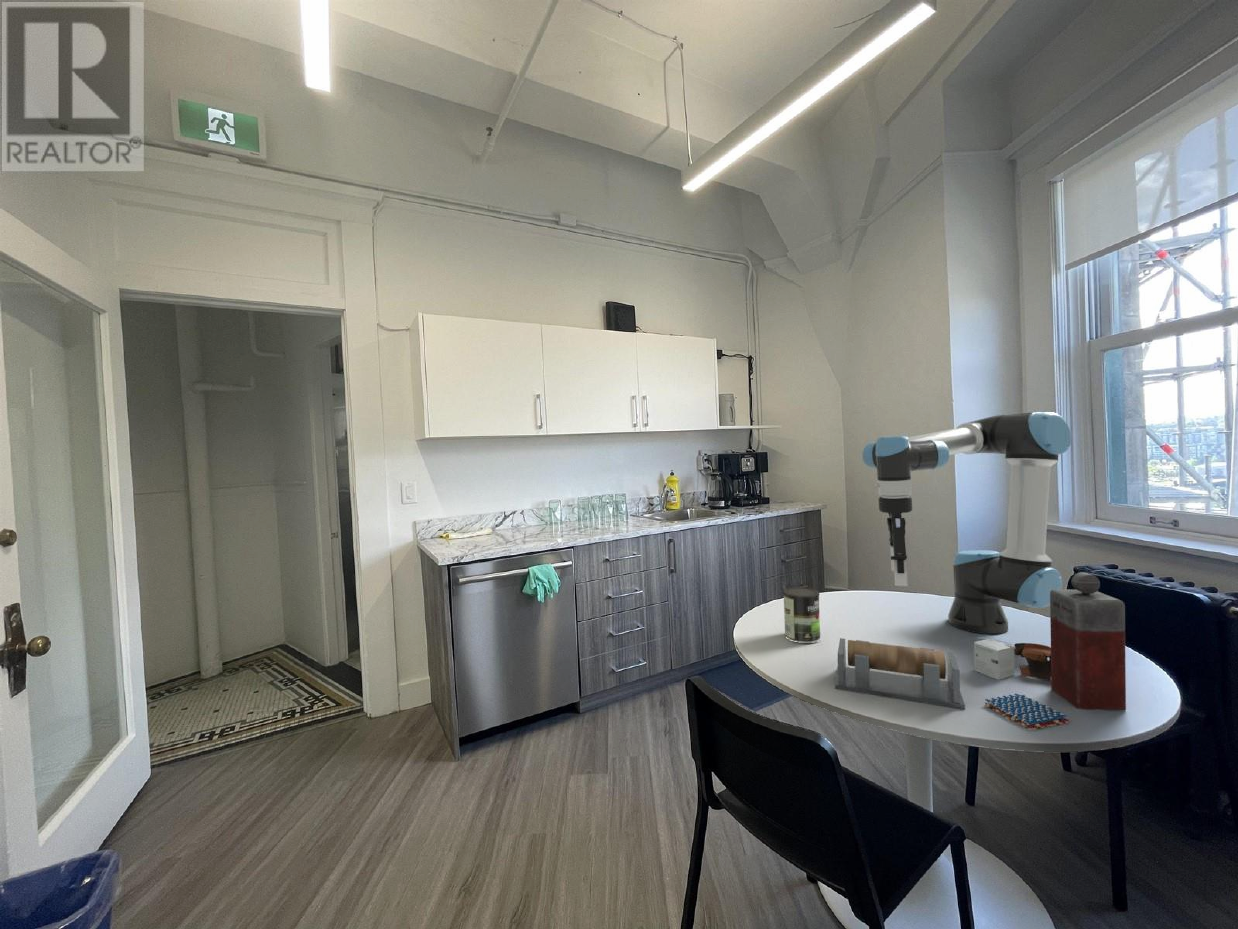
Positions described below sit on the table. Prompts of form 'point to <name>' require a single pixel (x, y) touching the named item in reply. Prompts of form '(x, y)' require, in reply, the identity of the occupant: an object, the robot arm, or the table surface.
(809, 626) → the coffee can
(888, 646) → the tan cylinder
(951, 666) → the bracket
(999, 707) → the woven mat
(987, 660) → the skincare box
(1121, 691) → the red grey decanter
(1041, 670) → the orange brown curved figurine
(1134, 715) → the table surface
